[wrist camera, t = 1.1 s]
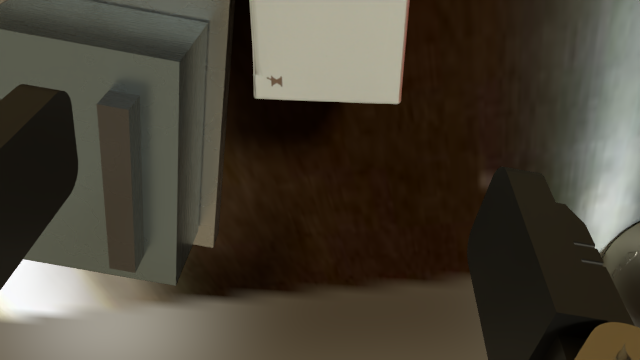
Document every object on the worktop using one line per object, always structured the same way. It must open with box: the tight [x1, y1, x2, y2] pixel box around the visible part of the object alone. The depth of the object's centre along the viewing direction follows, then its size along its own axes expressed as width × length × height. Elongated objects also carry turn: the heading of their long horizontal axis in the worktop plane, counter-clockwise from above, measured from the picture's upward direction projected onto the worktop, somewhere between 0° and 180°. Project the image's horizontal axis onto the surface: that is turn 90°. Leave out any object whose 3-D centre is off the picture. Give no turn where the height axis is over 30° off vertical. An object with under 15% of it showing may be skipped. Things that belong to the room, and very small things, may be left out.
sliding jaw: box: [0, 0, 208, 286], centre depth 30 cm, size 10×14×6 cm
